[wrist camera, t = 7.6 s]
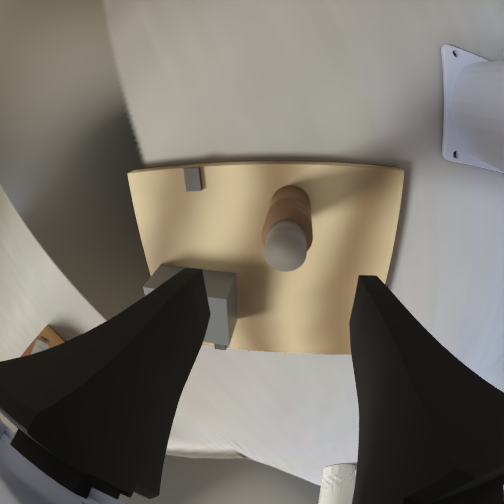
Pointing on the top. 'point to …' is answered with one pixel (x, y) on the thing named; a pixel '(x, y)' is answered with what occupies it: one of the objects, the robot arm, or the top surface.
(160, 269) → the block
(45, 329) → the small box
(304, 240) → the grey-capped wooden dowel
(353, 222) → the plywood board
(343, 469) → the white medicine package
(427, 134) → the top surface
